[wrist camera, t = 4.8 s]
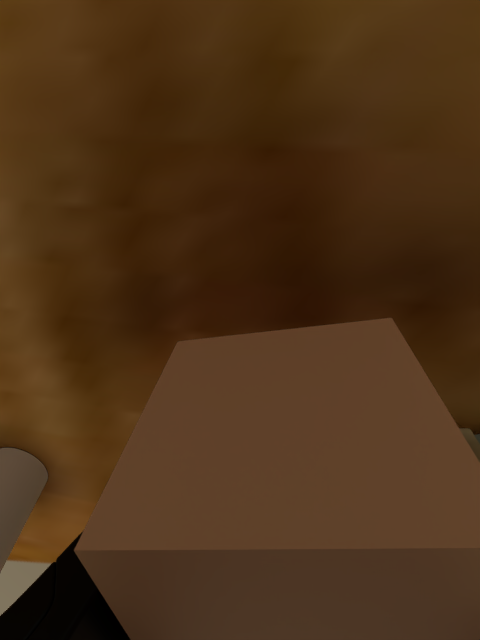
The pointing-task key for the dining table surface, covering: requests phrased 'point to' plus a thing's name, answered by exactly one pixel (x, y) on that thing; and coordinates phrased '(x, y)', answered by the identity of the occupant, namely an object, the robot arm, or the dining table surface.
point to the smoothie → (17, 494)
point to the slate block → (477, 437)
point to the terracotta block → (292, 496)
